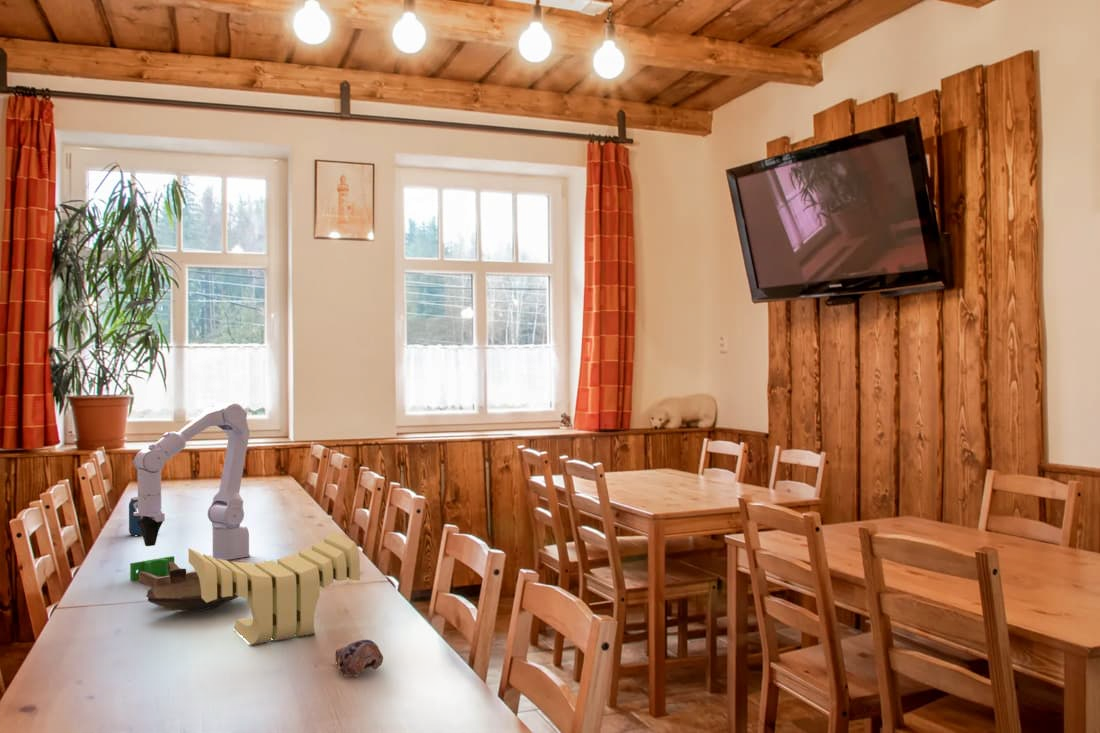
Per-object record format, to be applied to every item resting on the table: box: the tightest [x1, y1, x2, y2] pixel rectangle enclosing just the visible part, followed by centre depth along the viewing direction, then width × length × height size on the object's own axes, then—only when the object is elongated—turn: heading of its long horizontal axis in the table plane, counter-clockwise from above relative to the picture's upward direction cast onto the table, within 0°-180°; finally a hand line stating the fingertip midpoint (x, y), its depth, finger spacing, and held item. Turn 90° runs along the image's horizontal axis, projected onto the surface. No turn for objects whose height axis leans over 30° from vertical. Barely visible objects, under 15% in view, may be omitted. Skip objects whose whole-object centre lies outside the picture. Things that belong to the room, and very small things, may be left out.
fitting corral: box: [138, 570, 199, 588], centre depth 227 cm, size 18×11×2 cm, turn 135°
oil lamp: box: [145, 561, 239, 612], centre depth 202 cm, size 22×30×8 cm
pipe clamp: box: [129, 555, 175, 582], centre depth 229 cm, size 11×4×5 cm, turn 140°
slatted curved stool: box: [188, 531, 361, 646], centre depth 179 cm, size 30×16×18 cm, turn 124°
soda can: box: [128, 496, 143, 535], centre depth 288 cm, size 7×7×12 cm
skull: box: [335, 639, 384, 677], centre depth 157 cm, size 12×8×6 cm, turn 32°
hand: (150, 545), depth 235 cm, fingers closed
